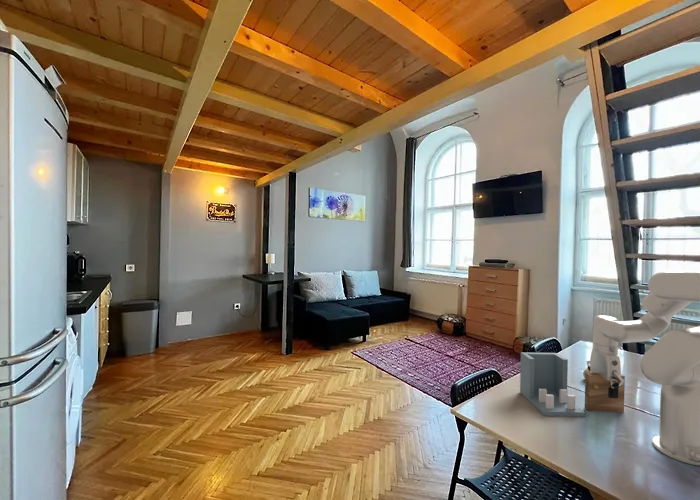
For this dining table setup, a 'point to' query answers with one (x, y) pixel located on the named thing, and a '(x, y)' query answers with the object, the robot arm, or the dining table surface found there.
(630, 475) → the dining table surface
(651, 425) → the dining table surface
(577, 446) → the dining table surface
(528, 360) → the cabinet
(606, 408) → the door
